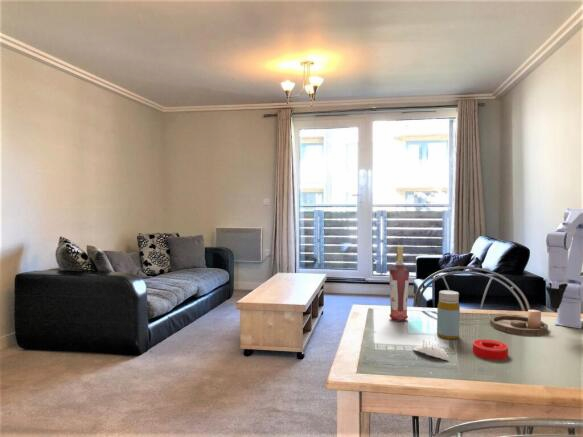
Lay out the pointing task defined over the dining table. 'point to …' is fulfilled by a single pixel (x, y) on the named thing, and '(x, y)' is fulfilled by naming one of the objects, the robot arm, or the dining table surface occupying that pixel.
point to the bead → (534, 319)
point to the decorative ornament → (490, 349)
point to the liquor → (399, 288)
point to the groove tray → (516, 325)
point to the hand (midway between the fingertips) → (556, 305)
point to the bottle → (448, 314)
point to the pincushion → (432, 351)
